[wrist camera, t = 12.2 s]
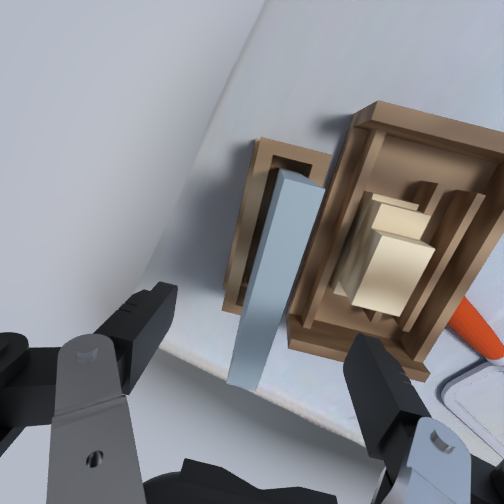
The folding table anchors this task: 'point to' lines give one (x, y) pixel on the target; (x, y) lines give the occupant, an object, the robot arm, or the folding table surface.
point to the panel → (273, 273)
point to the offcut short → (387, 271)
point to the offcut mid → (384, 229)
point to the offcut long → (353, 233)
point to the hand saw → (488, 345)
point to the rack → (435, 235)
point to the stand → (263, 207)
